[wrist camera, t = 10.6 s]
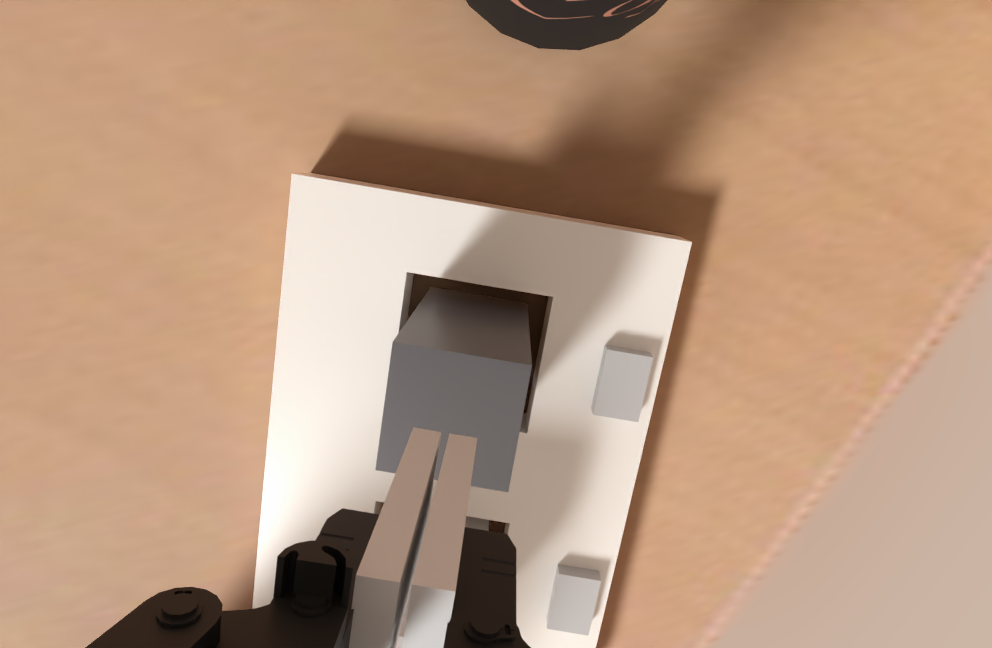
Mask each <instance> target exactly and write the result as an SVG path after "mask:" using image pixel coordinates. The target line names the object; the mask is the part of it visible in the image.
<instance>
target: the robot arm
mask: <svg viewBox="0 0 992 648" xmlns="http://www.w3.org/2000/svg"><path fill="white" fill-rule="evenodd" d="M440 438H441V432H438V431H432V430H426V429H420V428H415V427H413V430H412V432H411V435H410V437H409V440H408V443H407V445H406V448H405V450H404V453H403V455H402V458H401V461H400V463H399V466H398V468H397V471H396V473H395V476H394V479H393V481H392V484H391V486H390V489H389V491H388V494H387V497H386V499H385V502H384V504H383V507H382V509H381V512H380V514H374V513H368V512H362V511H356V510H350V509H344V508H342V509H341V510H339V511H338V512H336V513H335V514H333V515H332V516H330V517H329V518H327V520H326V522H325V523H324V525H323V527H322V529H321V531H320V534H319V535H318V537H317V538H316V540H315V541H305V542H300V543H296V544H294V545H292V546H289V547H287V548H285V549H284V550H283V551H282V552H281V553H280V554H279V555H278V556H277V565H276V575H275V585H274V595H273V599H272V601H271V603H270V604H268V605H265V606H262V607H259V608H254V609H247V610H236V611H222V603H221V601H220V600H219V598H218V597H217V595H215V594H213V593H211V592H209V591H208V590H205V589H200V588H194V587H184V588H174V589H170V590H167V591H163V592H160V593H158V594H156V595H155V596H153V597H151V598H149V599H148V600H146V601H145V602H143V603H142V604H141V605H139V606H138V607H137V608H136V609H134V610H133V611H132V612H131V613H129V614H128V615H127V616H125V617H124V618H123V619H122V620H120V621H119V622H118V623H116V624H115V625H114V626H113V627H111V628H110V629H109V630H108V631H106V632H105V633H104V634H102V635H101V636H100V637H99V638H97V639H96V640H95V641H93V642H92V643H91V644H90V645H88V646H87V647H86V648H396V646H397V642H398V638H399V634H400V630H401V626H402V622H403V618H404V614H405V610H406V606H407V602H408V598H409V594H410V600H409V606H408V613H407V619H406V626H405V632H404V638H403V645H402V648H531V647H530V646H528V644H527V643H526V642H525V641H524V640H523V639H522V637H521V634H520V630H519V627H518V626H517V623H516V547H515V545H514V544H513V542H512V541H511V539H510V537H509V536H508V534H504V533H498V532H492V531H486V530H480V529H474V528H468V527H465V522H466V515H467V508H468V501H469V494H470V486H471V479H472V472H473V465H474V458H475V451H476V444H477V438H474V437H468V436H462V435H456V434H450V433H449V437H448V441H447V445H446V449H445V453H444V457H443V461H442V465H441V469H440V473H439V477H438V481H437V485H436V489H435V493H434V497H433V501H432V505H431V510H430V514H429V508H430V501H431V495H432V489H433V483H434V476H435V470H436V464H437V457H438V451H439V445H440ZM428 514H429V518H428ZM427 520H428V522H427ZM426 525H427V526H426ZM425 529H426V530H425ZM424 533H425V534H424ZM423 537H424V538H423ZM422 541H423V542H422ZM421 545H422V546H421ZM420 549H421V550H420ZM419 553H420V554H419ZM411 586H412V587H411ZM410 590H411V593H410Z"/></svg>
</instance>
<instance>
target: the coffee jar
mask: <svg viewBox="0 0 992 648" xmlns="http://www.w3.org/2000/svg"><path fill="white" fill-rule="evenodd" d="M466 1H467V3H468V4H469V6H470V7H471V8H473V9H474V10H475V11H476V12H477V13H478V14H480V15H481V16H482V17H483V18H484V19H485V20H487V21H488V22H489V23H490V24H491V25H492V26H494V27H495V28H496V29H497V30H498V31H499V32H501V33H502V34H505V35H507V36H510V37H512V38H515V39H517V40H520V41H522V42H525V43H527V44H530V45H532V46H535V47H537V48H545V49H567V50H581V49H585V48H588V47H592V46H595V45H598V44H602V43H605V42H608V41H612V40H615V39H619V38H620V37H622V36H623V35H625V34H626V33H628V32H629V31H631V30H632V29H633V28H635V27H636V26H638V25H639V24H641V23H642V22H644V21H645V20H647V19H648V18H649V17H651V16H652V15H654V14H655V13H656V12H657V11H658V10H659V9H660V8H661V7H662V5H663V4H664V3H665V2H666V1H667V0H466Z"/></svg>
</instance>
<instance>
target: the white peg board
mask: <svg viewBox="0 0 992 648" xmlns="http://www.w3.org/2000/svg"><path fill="white" fill-rule="evenodd" d="M691 245H692V242H691V241H689V240H686V239H684V238H682V237H680V236H676V235H671V234H665V233H659V232H653V231H647V230H641V229H636V228H630V227H624V226H618V225H612V224H606V223H600V222H595V221H589V220H583V219H577V218H571V217H565V216H560V215H554V214H548V213H542V212H536V211H530V210H525V209H519V208H513V207H507V206H501V205H495V204H490V203H484V202H478V201H472V200H466V199H460V198H455V197H449V196H443V195H437V194H431V193H425V192H420V191H414V190H408V189H402V188H396V187H390V186H384V185H379V184H373V183H367V182H361V181H355V180H349V179H344V178H338V177H332V176H326V175H320V174H314V173H294V174H292V178H291V189H290V200H289V211H288V222H287V233H286V244H285V255H284V265H283V276H282V287H281V298H280V309H279V320H278V331H277V342H276V353H275V364H274V375H273V386H272V397H271V408H270V419H269V430H268V441H267V452H266V463H265V474H264V485H263V495H262V506H261V517H260V528H259V539H258V550H257V561H256V572H255V583H254V594H253V605H252V609H254V608H259V607H262V606H265V605H268V604H270V603H271V601H272V599H273V595H274V585H275V575H276V565H277V556H278V555H279V554H280V553H281V552H282V551H283V550H284V549H285V548H287V547H289V546H292V545H294V544H296V543H300V542H305V541H315V540H316V538H317V537H318V535H319V534H320V531H321V529H322V527H323V525H324V523H325V522H326V520H327V518H329V517H330V516H332V515H333V514H335V513H336V512H338V511H339V510H341V509H342V508H344V509H350V510H356V511H362V512H368V513H374V514H380V512H381V507H382V502H385V499H386V497H387V494H388V491H389V489H390V486H391V484H392V481H393V479H394V476H395V473H390V472H384V471H378V470H375V469H376V461H377V454H378V447H379V439H380V432H381V424H382V417H383V409H384V402H385V395H386V387H387V380H388V372H389V365H390V358H391V350H392V343H393V341H394V339H395V338H396V336H397V335H398V333H399V332H400V330H401V329H402V328H403V326H404V325H405V323H406V322H407V319H408V312H409V305H410V298H411V291H412V284H413V276H414V273H415V274H421V275H427V276H433V277H439V278H445V279H450V280H456V281H462V282H468V283H474V284H480V285H486V286H492V287H497V288H503V289H509V290H515V291H521V292H527V293H533V294H539V295H545V296H549V297H548V302H547V307H546V313H545V318H544V323H543V329H542V334H541V339H540V344H539V350H538V355H537V360H536V365H535V371H534V376H533V381H532V387H531V392H530V397H529V402H528V408H527V413H523V416H522V422H521V427H520V432H519V438H518V443H517V448H516V454H515V459H514V464H513V470H512V475H511V480H510V486H509V491H508V492H503V491H497V490H491V489H485V488H479V487H473V486H470V494H469V501H468V508H467V515H466V522H465V527H468V528H474V529H480V530H486V531H489V520H493V521H499V522H505V523H506V524H505V529H504V534H508V536H509V537H510V539H511V541H512V542H513V544H514V545H515V547H516V623H517V626H518V627H519V630H520V634H521V637H522V639H523V640H524V641H525V642H526V643H527V644H528V646H530V647H531V648H596V645H597V641H598V637H599V632H600V628H601V624H602V620H603V615H604V611H605V607H606V603H607V599H608V594H609V590H610V586H611V582H612V578H613V573H614V569H615V565H616V561H617V556H618V552H619V548H620V544H621V540H622V535H623V531H624V527H625V523H626V519H627V514H628V510H629V506H630V502H631V498H632V493H633V489H634V485H635V481H636V476H637V472H638V468H639V464H640V460H641V455H642V451H643V447H644V443H645V439H646V434H647V430H648V426H649V422H650V418H651V413H652V409H653V405H654V401H655V396H656V392H657V388H658V384H659V380H660V375H661V371H662V367H663V363H664V359H665V354H666V350H667V346H668V342H669V338H670V333H671V329H672V325H673V321H674V316H675V312H676V308H677V304H678V300H679V295H680V291H681V287H682V283H683V279H684V274H685V270H686V266H687V262H688V258H689V253H690V249H691ZM436 485H437V480H434V483H433V489H432V495H431V501H430V508H429V514H430V510H431V505H432V501H433V497H434V493H435V489H436ZM429 514H428V518H429ZM427 522H428V520H427ZM426 526H427V525H426ZM425 530H426V529H425ZM424 534H425V533H424ZM423 538H424V537H423ZM422 542H423V541H422ZM421 546H422V545H421ZM420 550H421V549H420ZM419 554H420V553H419ZM411 587H412V586H411ZM410 593H411V590H410ZM409 600H410V594H409V598H408V602H407V606H406V610H405V614H404V618H403V622H402V626H401V630H400V634H399V638H398V642H397V646H396V648H402V645H403V638H404V632H405V626H406V619H407V613H408V606H409Z"/></svg>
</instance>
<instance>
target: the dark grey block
mask: <svg viewBox="0 0 992 648" xmlns="http://www.w3.org/2000/svg"><path fill="white" fill-rule="evenodd" d="M531 369H532V358H531V345H530V332H529V319H528V306H527V303H525V302H519V301H514V300H508V299H502V298H496V297H490V296H484V295H478V294H472V293H466V292H461V291H455V290H449V289H443V288H437V287H430V289H429V290H428V291H427V293H426V294H425V296H424V297H423V299H422V300H421V302H420V303H419V304H418V306H417V307H416V309H415V310H414V312H413V313H412V315H411V316H410V317H409V319H408V320H407V322H406V323H405V325H404V326H403V328H402V329H401V330H400V332H399V333H398V335H397V336H396V338H395V339H394V341H393V343H392V350H391V358H390V365H389V372H388V380H387V387H386V395H385V402H384V409H383V417H382V424H381V432H380V439H379V447H378V454H377V461H376V469H375V470H378V471H384V472H390V473H396V471H397V468H398V466H399V463H400V461H401V458H402V455H403V453H404V450H405V448H406V445H407V443H408V440H409V437H410V435H411V432H412V430H413V427H415V428H420V429H426V430H432V431H438V432H441V438H440V445H439V451H438V457H437V464H436V470H435V476H434V480H437V481H438V477H439V473H440V469H441V465H442V461H443V457H444V453H445V449H446V445H447V441H448V437H449V433H450V434H456V435H462V436H468V437H474V438H477V444H476V451H475V458H474V465H473V472H472V479H471V486H473V487H479V488H485V489H491V490H497V491H503V492H508V491H509V486H510V480H511V475H512V470H513V464H514V459H515V454H516V448H517V443H518V438H519V432H520V427H521V422H522V416H523V411H524V406H525V401H526V395H527V390H528V385H529V379H530V374H531Z"/></svg>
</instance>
